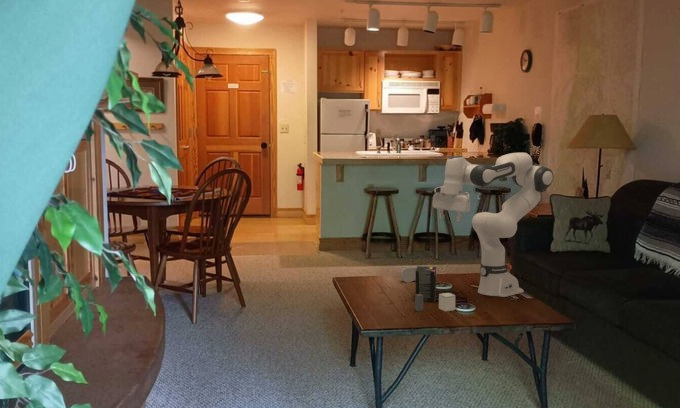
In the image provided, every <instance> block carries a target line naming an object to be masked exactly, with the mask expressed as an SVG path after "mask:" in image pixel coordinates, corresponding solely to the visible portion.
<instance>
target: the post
mask: <svg viewBox="0 0 680 408" xmlns="http://www.w3.org/2000/svg"><path fill="white" fill-rule="evenodd" d="M414 310H415V311H416V312H423V311H424V301H423V295H421V294H416V293H415V294H414Z"/></svg>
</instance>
